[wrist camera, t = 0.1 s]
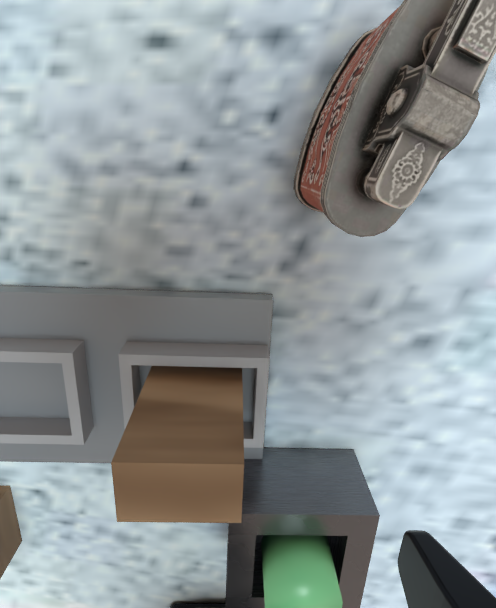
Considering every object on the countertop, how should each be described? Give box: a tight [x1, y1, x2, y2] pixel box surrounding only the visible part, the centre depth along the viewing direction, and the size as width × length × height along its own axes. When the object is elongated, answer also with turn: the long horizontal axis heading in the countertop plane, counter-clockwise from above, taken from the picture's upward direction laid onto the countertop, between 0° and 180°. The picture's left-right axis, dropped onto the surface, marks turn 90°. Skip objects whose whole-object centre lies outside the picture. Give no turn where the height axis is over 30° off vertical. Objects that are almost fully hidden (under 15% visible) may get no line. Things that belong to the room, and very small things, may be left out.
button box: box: [226, 448, 380, 608], centre depth 24 cm, size 8×8×5 cm
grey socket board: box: [0, 285, 273, 463], centre depth 22 cm, size 11×18×2 cm, turn 88°
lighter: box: [294, 0, 496, 237], centre depth 14 cm, size 8×3×10 cm, turn 157°
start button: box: [261, 535, 343, 608], centre depth 22 cm, size 4×4×4 cm
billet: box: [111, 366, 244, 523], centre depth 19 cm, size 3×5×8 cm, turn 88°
